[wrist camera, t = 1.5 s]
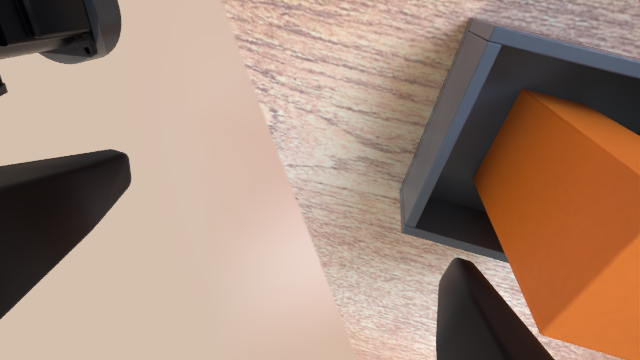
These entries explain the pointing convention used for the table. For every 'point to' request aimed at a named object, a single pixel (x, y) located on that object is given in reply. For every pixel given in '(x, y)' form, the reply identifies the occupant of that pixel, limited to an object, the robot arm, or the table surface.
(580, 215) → the plate
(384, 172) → the table surface
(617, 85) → the blue gray box
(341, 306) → the table surface
